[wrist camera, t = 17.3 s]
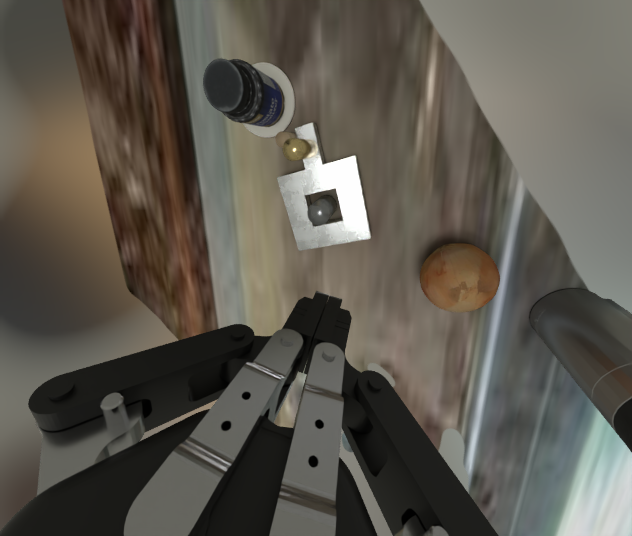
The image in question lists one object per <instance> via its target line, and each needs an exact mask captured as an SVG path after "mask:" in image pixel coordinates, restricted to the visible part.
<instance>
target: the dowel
mask: <svg viewBox="0 0 632 536" xmlns="http://www.w3.org/2000/svg"><path fill="white" fill-rule="evenodd" d="M290 138H297V135H296V133H289V132H279V133H278V134H277V135H276V143H277V145H278V146H280V147H283V145H284V143H285V141H286V140H288V139H290Z"/></svg>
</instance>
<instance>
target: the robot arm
mask: <svg viewBox="0 0 632 536" xmlns="http://www.w3.org/2000/svg"><path fill="white" fill-rule="evenodd" d="M328 297H329V295H327V294H324V293H321V292H318V291H316V293H315V295H314V297H313V299H310V298H307V297H303V298H302V299H300V300H298V302H297V304H296V305H295V307H294V309H293V311H292V312H291V314H290V316H289V318H288V319H287V321H286V323H285V325H284V326H283V328H282V329H281V330H278V331H276V332H275V333H274V334H273V336H254V332H253V330H252V329H251V328H250V327H248V326H246V325H242V324H234V325H230V326H227V327H223V328H220V329H217V330H213V331H210V332H206V333H203V334H199V335H196V336H193V337H189V338H186V339H182V340H179V341H175V342H172V343H169V344H165V345H162V346H158V347H155V348H152V349H148V350H145V351H141V352H138V353H134V354H131V355H128V356H124V357H121V358H117V359H114V360H110V361H107V362H103V363H100V364H97V365H93V366H90V367H86V368H83V369H79V370H76V371H73V372H70V373H66V374H63V375H59V376H57V377H54V378H52V379H50V380H48V381H47V382H45V383H44V384H42V385H41V386H40V387H38V388H37V389H36V390H35V391H34V393H33V394H32V395H31V397H30V399H29V403H28V405H29V408H30V410H31V412H32V414H33V416H34V418H35V420H36V426H37V428H38V430H39V432H40V433H41V435H42V447H41V458H40V469H39V480H38V491H37V497H35V498H34V499H33V500H31V501H30V502H29V503H28V504H26V505H25V506H24V507H23V508H22V509H21V510H20V511H19V512H17V513H16V514H15V515H14V517H13V518H12V519H11V520H10V521H9V522H8V523H7V524H6V525H5V526H4V527H3V528H2V530H1V531H0V536H377V533H376V531H375V529H374V526H373V524H372V521H371V519H370V517H369V514H368V512H367V509H366V507H365V504H364V502H363V499H362V497H361V494H360V492H359V490H358V487H357V485H356V482H355V480H354V478H353V476H352V474H351V472H350V470H349V469H348V467H347V466H346V464H345V463H344V462H343V461H342V459H341V458H340V457H339V452H340V440H341V428H342V429H343V431H344V433H345V436H346V438H347V440H348V442H349V444H350V446H351V448H352V450H353V452H354V455H355V456H356V459H357V461H358V463H359V465H360V467H361V469H362V471H363V473H364V475H365V478H366V480H367V482H368V484H369V486H370V488H371V490H372V492H373V495H374V497H375V499H376V501H377V503H378V505H379V507H380V509H381V511H382V513H383V516H384V518H385V520H386V522H387V524H388V526H389V528H390V530H391V532H392V535H393V536H498V534H497V533H496V532H495V530H494V529H493V527H492V526H491V525H490V523H489V522H488V520H487V519H486V518H485V516H484V515H483V513H482V512H481V511H480V509H479V508H478V506H477V505H476V504H475V502H474V501H473V499H472V498H471V497H470V495H469V494H468V492H467V491H466V490H465V488H464V487H463V485H462V484H461V483H460V481H459V480H458V478H457V477H456V476H455V475H454V473H453V471H452V470H451V469H450V467H449V466H448V465H447V463H446V462H445V460H444V459H443V458H442V456H441V455H440V453H439V452H438V450H437V449H436V448H435V446H434V445H433V443H432V442H431V441H430V439H429V438H428V436H427V435H426V434H425V432H424V431H423V429H422V428H421V427H420V425H419V424H418V422H417V421H416V420H415V418H414V417H413V415H412V414H411V413H410V411H409V410H408V408H407V407H406V406H405V404H404V403H403V401H402V400H401V399H400V397H399V396H398V394H397V393H396V392H395V390H394V389H393V387H392V386H391V385H390V383H389V382H388V381H387V380H386V378H385V377H383V376H382V375H381V374H379V373H377V372H375V371H364V372H362V373H361V372H359V371H358V370H356V369H355V368H353V367H352V366H351V365H350V364H349V363H348V361H347V360H346V357H345V348H346V343H347V338H348V333H349V328H350V324H351V319H352V318H351V315H350V312H349V311H347V310H344V309H341V308H340V306H341V303H342V299H340V298H337V297H333V296H330V297H329V299H328ZM327 301H328V302H327ZM530 323H531V325H532V327H533V329H534V330H535V331H536V332H537V334H538V335H539V336H540V337H541V339H542V340H543V341H544V342H545V344H546V345H547V346H548V348H549V349H550V350H551V351H552V353H553V354H554V355H555V356H556V358H557V359H558V360H559V361H560V363H561V364H562V365H563V366H564V368H565V369H566V370H567V371H568V373H569V374H570V375H571V376H572V378H573V379H574V380H575V381H576V383H577V384H578V385H579V386H580V388H581V389H582V390H583V392H584V393H585V394H586V395H587V397H588V398H589V399H590V400H591V402H592V403H593V404H594V405H595V407H596V408H597V409H598V410H599V411H600V413H601V414H602V415H603V416H604V418H605V419H606V420H607V422H608V423H609V424H610V425H611V427H612V428H613V429H614V430H615V432H616V433H617V434H618V435H619V437H620V438H621V439H622V440H623V442H624V443H625V444H626V445H627V447H628V448H629V449H630V451H631V452H632V314H631V313H630V312H628V311H627V310H625V309H624V308H622V307H621V306H619V305H618V304H617V303H615V302H614V301H612V300H610V299H603V298H601V297H599V296H598V295H596V294H595V293H593V292H590V291H588V290H583V289H565V290H560V291H556V292H554V293H551V294H549V295H547V296H545V297H544V298H542V299H541V300H540V301H539V302H537V303H536V305H535V306H534V307H533V309H532V311H531V313H530ZM307 360H308V361H307ZM306 362H307V364H306ZM305 365H306V368H305ZM304 368H305V371H304V374H307V376H306V380H305V383H304V387H303V390H302V394H301V398H300V402H299V406H298V410H297V414H296V418H295V422H294V426H293V428H288V427H280V426H277V425H275V424H274V421H275V419H276V417H277V415H278V413H279V411H280V409H281V407H282V405H283V403H284V401H285V399H286V397H287V395H288V393H289V391H290V389H291V387H292V384H293V381H294V380H295V378H296V375H297V373H298V371H299V372H302V373H303V370H304ZM217 399H218V400H217ZM215 400H217V401H216V402H215V404H214V405H213V406H212V408H211V409H208V410H204V411H201V412H198V413H196V414H194V415H192V416H190V417H188V418H186V419H184V420H182V421H180V422H178V423H176V424H174V425H172V426H170V427H168V428H166V429H164V430H162V431H160V432H158V433H156V434H154V435H152V436H150V437H148V438H146V439H144V440H142V441H140V440H141V438H142V437H143V435H144V433H145V432H147V431H149V430H151V429H153V428H155V427H158V426H160V425H162V424H164V423H166V422H169V421H171V420H173V419H175V418H177V417H180V416H181V415H184V414H186V413H188V412H190V411H193V410H195V409H197V408H199V407H201V406H204V405H206V404H208V403H210V402H212V401H215ZM139 441H140V442H139Z"/></svg>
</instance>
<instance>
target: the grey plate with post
mask: <svg viewBox="0 0 632 536" xmlns="http://www.w3.org/2000/svg"><path fill="white" fill-rule="evenodd" d="M295 131H296V135H297V138H290V139H288V140H286V141H285V143H284V145H283V153H284V156H285V157H286V158H287V159H288V160H290V161H296V160H302V159H303V162H304V166H305V169H306V170H303V171H299V172H296V173H292V174H288V175H285V176H281V177H278V178H277V180H278V183H279V186H280V189H281V193H282V196H283V199H284V203H285V206H286V209H287V213H288V216H289V219H290V223H291V226H292V229H293V233H294V236H295V239H296V242H297V246H298V249H299V251H300V250H306V249H312V248H318V247H324V246H330V245H335V244H341V243H347V242H353V241H359V240H364V239H370V238H371V230H370V225H369V219H368V214H367V209H366V203H365V198H364V193H363V187H362V182H361V177H360V171H359V166H358V161H357V155H356V156H352V157H349V158H345V159H342V160H338V161H335V162H331V163H327V164H325V160H324V156H323V152H322V147H321V143H320V139H319V134H318V130H317V126H316V123H313V122H312V123H309V124H306V125H303V126H301V127H298V128H295ZM333 188H336V190H337V194H338V199H339V203H340V208H341V212H342V216H343V218H341V219H336V220H331V221H327V222H326V223H325V224H323V225H315V224H313V223H312V222H311V221H310V220H309V218H308V215H307V211H308V208H309V207H310V205H311V203H310V199H309V194H313V193H317V192H321V191H325V190H329V189H333Z"/></svg>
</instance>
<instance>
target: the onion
mask: <svg viewBox="0 0 632 536" xmlns="http://www.w3.org/2000/svg"><path fill="white" fill-rule="evenodd" d="M499 282H500V275H499V272H498V269H497V266H496V264H495V263H494V261H493V259H492V258H491V257H490V256H489V255H488V254H486V253H485V252H484V251H482V250H481V249H479V248H477V247H476V246H474V245H471V244H466V243H454V244H445V245H442V246H441V247H439V248H438V249H436V250H435V251H434V252H433V253H432V254H431V255H430V256H429V257H428V258H427V259H426V260H425V262H424V263H423V265H422V268H421V271H420V283H421V288H422V290H423V292H424V294H425V295H426V297H427V298H428V299H429V300H430V301H431V302H432V303H433V304H434V305H436V306H437V307H439V308H441V309H443V310H446V311H450V312H469V311H473V310H476V309H478V308H480V307H482V306H484V305H485V304H487V303H488V302H489V301H490V300H491V299H492V298H493V297H494V296H495V294H496V292H497V289H498V286H499Z"/></svg>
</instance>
